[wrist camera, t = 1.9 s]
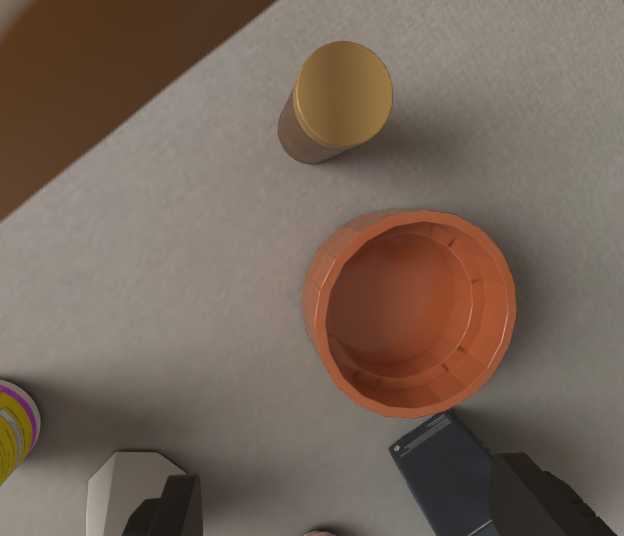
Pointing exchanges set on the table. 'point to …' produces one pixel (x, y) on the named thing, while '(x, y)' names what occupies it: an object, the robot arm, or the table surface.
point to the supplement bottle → (16, 427)
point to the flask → (124, 489)
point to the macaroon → (319, 534)
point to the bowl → (409, 310)
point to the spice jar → (335, 102)
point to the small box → (448, 475)
